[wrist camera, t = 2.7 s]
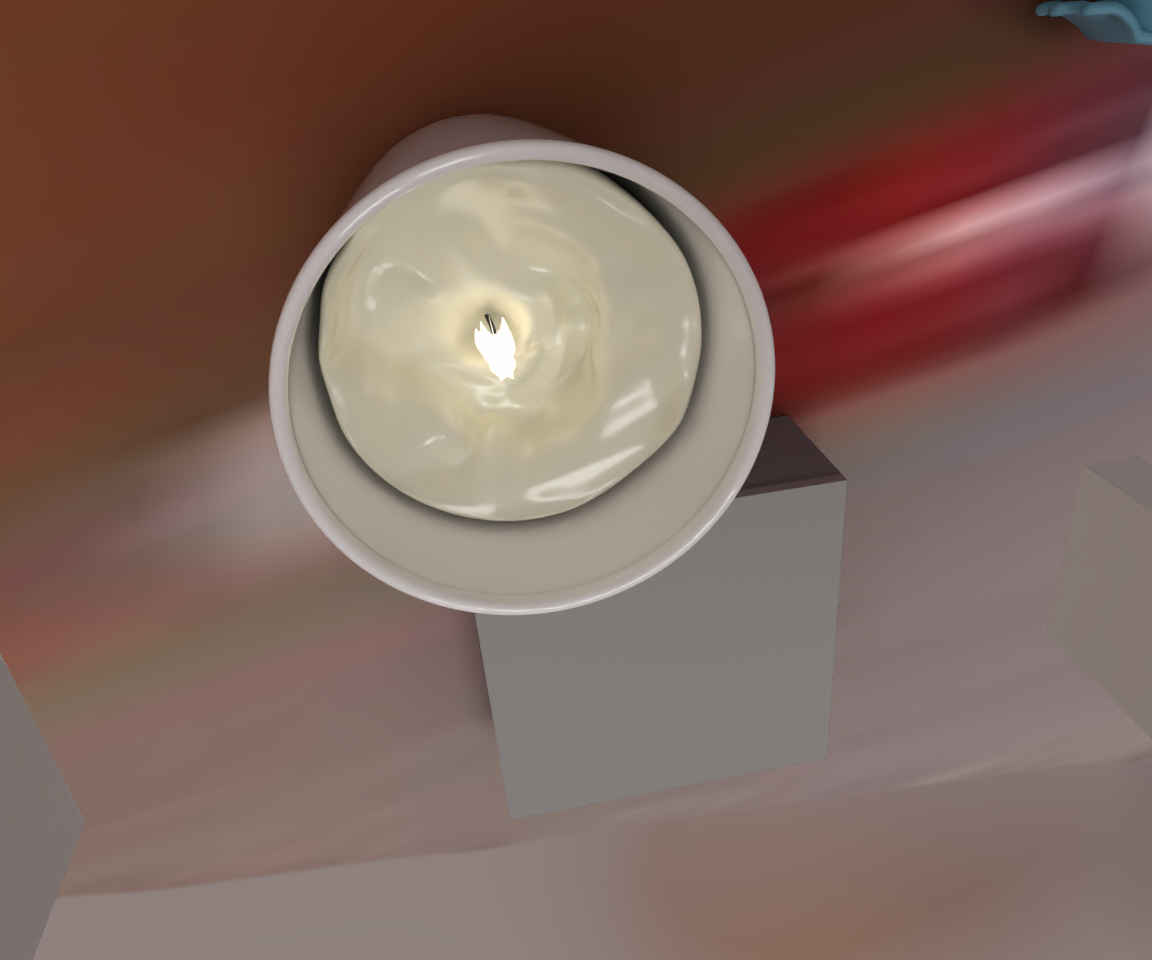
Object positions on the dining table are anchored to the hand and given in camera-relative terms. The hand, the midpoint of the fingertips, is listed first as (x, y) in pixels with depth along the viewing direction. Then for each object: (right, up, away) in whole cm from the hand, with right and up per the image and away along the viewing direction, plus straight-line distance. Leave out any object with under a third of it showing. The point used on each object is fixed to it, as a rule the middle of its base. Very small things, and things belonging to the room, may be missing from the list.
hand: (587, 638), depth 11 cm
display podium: (+2, -2, +23) cm, 23 cm away
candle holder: (-3, +9, +17) cm, 19 cm away
